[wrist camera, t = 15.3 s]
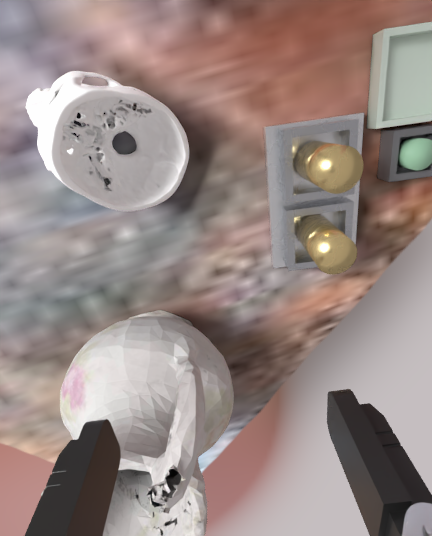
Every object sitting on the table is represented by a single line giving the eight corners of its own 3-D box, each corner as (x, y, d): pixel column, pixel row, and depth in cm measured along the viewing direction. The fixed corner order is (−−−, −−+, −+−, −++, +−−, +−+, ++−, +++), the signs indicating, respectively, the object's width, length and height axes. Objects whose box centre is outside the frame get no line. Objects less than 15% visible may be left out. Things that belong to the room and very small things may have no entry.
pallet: (263, 126, 33) (268, 127, 30) (358, 113, 32) (373, 112, 30) (271, 264, 40) (276, 275, 37) (350, 253, 39) (362, 264, 36)
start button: (396, 139, 32) (408, 140, 31) (426, 135, 32) (439, 136, 31) (393, 169, 34) (404, 172, 32) (421, 165, 34) (434, 168, 32)
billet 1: (294, 144, 32) (316, 149, 26) (333, 137, 32) (364, 141, 26) (296, 183, 34) (317, 196, 28) (333, 177, 34) (362, 189, 28)
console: (381, 130, 33) (394, 131, 31) (428, 123, 33) (445, 123, 31) (376, 178, 35) (388, 182, 33) (421, 171, 35) (436, 175, 33)
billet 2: (297, 217, 36) (316, 238, 30) (332, 213, 36) (359, 234, 29) (297, 249, 38) (315, 276, 31) (330, 245, 37) (355, 272, 31)
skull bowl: (29, 30, 28) (53, 43, 20) (163, 102, 37) (217, 131, 29) (5, 145, 31) (18, 195, 23) (133, 184, 41) (173, 229, 33)
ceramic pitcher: (110, 252, 39) (-54, 423, 17) (257, 292, 41) (289, 499, 18) (92, 377, 48) (-32, 599, 26) (213, 406, 50) (198, 641, 27)
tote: (372, 34, 30) (383, 29, 28) (460, 21, 29) (477, 14, 28) (366, 128, 33) (375, 128, 31) (444, 117, 33) (458, 117, 31)
